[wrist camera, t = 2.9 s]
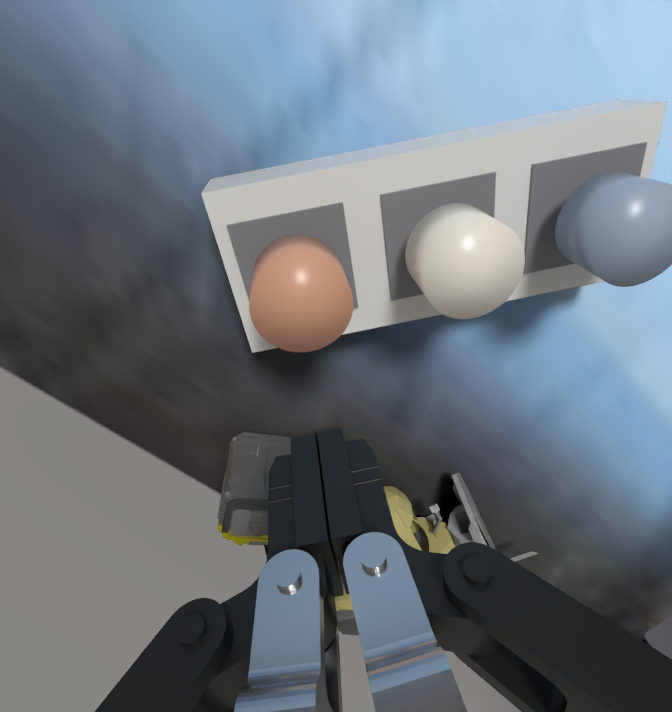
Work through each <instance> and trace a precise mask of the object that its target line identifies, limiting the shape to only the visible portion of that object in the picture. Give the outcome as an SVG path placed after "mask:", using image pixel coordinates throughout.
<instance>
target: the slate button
mask: <svg viewBox="0 0 672 712" xmlns="http://www.w3.org/2000/svg"><path fill="white" fill-rule="evenodd" d="M555 240H556V244H557V247H558V249H559V251H560V252H561V253H562V255H563V256H564V257H566V258H567V259H569V260H570V261H572V262H574V263H575V264H577V265H579V266H580V267H582V268H584V269H585V270H587V271H589V272H590V273H592V274H594V275H595V276H597V277H599V278H600V279H602V280H604V281H606V282H607V283H609V284H611V285H615V286H621V287H628V286H634V285H638V284H641V283H644V282H646V281H648V280H651V279H653V278H654V277H656V276H658V275H659V274H660V273H662V272H663V271H665V270H666V269H667V268H668V267H669V266H670V265H671V264H672V185H671V184H668V183H664V182H660V181H656V180H652V179H648V178H644V177H640V176H636V175H632V174H628V173H624V172H618V171H613V172H606V173H602V174H599V175H597V176H595V177H593V178H591V179H589V180H588V181H586V182H585V183H583V184H582V185H581V186H580V187H578V188H577V189H576V190H575V191H574V192H573V193H572V194H571V196H570V197H569V198H568V199H567V201H566V202H565V204H564V206H563V207H562V209H561V211H560V214H559V216H558V219H557V222H556V228H555Z"/></svg>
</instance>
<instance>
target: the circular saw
mask: <svg viewBox="0 0 672 712" xmlns="http://www.w3.org/2000/svg"><path fill="white" fill-rule="evenodd" d="M287 454H291V441H290V437H285V436H276V435H267V434H258V433H249V432H242V433H240V434H238V435H236V437H233V440H232V441H231V442H230V445H229V453H228V460H227V467H226V474H225V478H224V482H223V488H222V494H221V501H220V507H219V513H218V519H219V524H218V530H219V532H221V533H222V535H223V537H224V538H226V539H228V540H232V541H234V542H235V543H237V544H238V545H240V546H241V545H243V544H244V543H246V544H251V545H264V547H265V551H266V556H267V555H268V505H269V502H268V491H269V489H268V472H269V470H270V468H271V466H272V464H273V462H274V460H275V458H276V457H278V456H283V455H287ZM452 478H453V480H454V484H453V485H454V486H453V490H454V492H455V494H456V496H457V498H458V500H459V502H460V504H461V505H460V506H457V507H455V508H454V510H453V511H452V512H451V513H450V516H449V522H448V526H447V524H446V523H445V522H442V517H441V515H440V513H439V510H440V509H439V507H438V505H437V504H435V505H432V506H430V507H429V508H430V510H431V511H432V513H435V514H436V516H437V517H436V516H435V515H434V514H432V515H430V516H427V517H426V518H425V517H417V518H416V516H415V514H414V512H413V510H412V507H411V503H410V501H409V500H408V498H407V497H406V495H405V494H403V493H402V492H401V491H399V490H398V489H397V488H395V487H393V486H386V485H383V487H384V491H385V494H386V498H387V502H388V505H389V509H390V512H391V516H392V520H393V523H394V527H395V529H396V531H397V533H398V535H399V536H400V537H401V539H402V540H403V541H404V542H406V543H407V544H408V545H410V546H411V547H413V548H415V549H418V550H421V551H426V552H434V553H443V554H448V553H449V552H450V551H451V550H452V549H453V548H454V547H456V546H458V545H460V544H463V543H468V542H476V543H481V544H485V545H487V546H489V547H491V548H493V549H495V550H496V548H495V546H494V544H493V542H492V539H491V537H490V535H489V533H488V531H487V529H486V527H485V524H484V522H483V520H482V518H481V516H480V514H479V512H478V509H477V507H476V505H475V503H474V501H473V499H472V497H471V495H470V492H469V490H468V488H467V486H466V484H465V482H464V481H463V479H462V477H461V475H460V472H459V473H456V474H454V475H452ZM536 554H538V553H536V552H528V553H525V554H522V555H520V556H517V557H514V558H511V560H513V561H514V562H515V561H518V560H521V559H524V558H527V557H529V556H533V555H536ZM341 579H342V577H341ZM342 586H343V593H344V595H343V596H338V597H335V604H336V612H337V622H338V625H337V627H338V630H339V631H340V632H341V633H343V634H348V635H359V633H358V628H357V624H356V620H355V615H354V611H353V607H352V602H351V598H350V594H346V591H345V588H344V584H343V581H342Z"/></svg>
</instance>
